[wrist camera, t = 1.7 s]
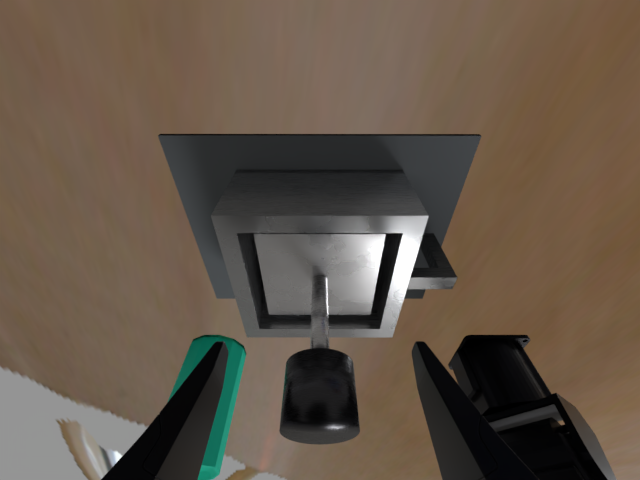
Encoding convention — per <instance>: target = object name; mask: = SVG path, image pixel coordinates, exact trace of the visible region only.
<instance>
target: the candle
mask: <svg viewBox="0 0 640 480" xmlns="http://www.w3.org/2000/svg"><path fill="white" fill-rule="evenodd" d="M217 341H224V342H225V344H226V346H227V349H228V360H227V366H226V372H225V378H224V384H223V389H222V393H221V397H220V400H219V404H218V407H217V411H216V415H215V418H214V422H213V426H212V429H211V433H210V436H209V440H208V444H207V447H206V451H205V454H204V458H203V462H202V465H201V469H200V473H199V476H198V480H212V479H214V478H216V477H217V476H218V475H219V474H220V470H221V466H222V461H223V457H224V452H225V448H226V443H227V439H228V434H229V430H230V425H231V421H232V416H233V412H234V407H235V403H236V398H237V394H238V389H239V385H240V380H241V376H242V371H243V367H244V362H245V358H246V351H245V348H244V346H243V345H242V344H241V343H239V342H238V341H236V340H235V339H233V338H229V337H226V336H222V335H202V336H200V337H197V338H195V339H193V341H192V343H191V345H190V347H189V350H188V352H187V355H186V357H185V360H184V362H183V365H182V367H181V370H180V372H179V375H178V377H177V380H176V382H175V385H174V387H173V389H172V392H171V394H170V397H169V399H168V401H169V400H170V399H171V397H172V396H173V395H174V394H175V392H176V391H177V390H178V389H179V387H180V386H181V385H182V383H183V382H184V381H185V380H186V378H187V377H188V376H189V375H190V373H191V372H192V371H193V369H194V368H195V367H196V366H197V364H198V363H199V362H200V361H201V359H202V358H203V357H204V355H205V354H206V353H207V352H208V350H209V349H210V348H211V347H212V345H213V344H214V343H215V342H217ZM167 403H168V402H167Z"/></svg>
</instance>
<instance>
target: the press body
mask: <svg viewBox="0 0 640 480" xmlns="http://www.w3.org/2000/svg"><path fill="white" fill-rule="evenodd" d="M428 217H429V215H428V214H427V212H426V210H425V208H424V207H423V205H422V203H421V201H420V199H419V198H418V196H417V194H416V192H415V190H414V189H413V187H412V185H411V183H410V181H409V180H408V178H407V176H406V174H405V173H404V171H403V170H236V172H235V173H234V175H233V177H232V179H231V180H230V182H229V184H228V186H227V188H226V189H225V191H224V193H223V195H222V197H221V198H220V200H219V202H218V204H217V206H216V207H215V209H214V211H213V213H212V214H211V218H212V221H213V225H214V228H215V232H216V235H217V238H218V242H219V245H220V248H221V252H222V255H223V259H224V262H225V265H226V269H227V272H228V275H229V279H230V282H231V286H232V289H233V292H234V296H235V299H236V302H237V306H238V309H239V313H240V316H241V319H242V323H243V326H244V329H245V333H246V336H247V337H310V336H311V315H269V312H268V307H267V302H266V296H265V291H264V286H263V280H262V275H261V270H260V264H259V259H258V254H257V249H256V243H255V238H254V233H386V235H385V241H384V246H383V251H382V256H381V262H380V267H379V272H378V277H377V283H376V288H375V293H374V298H373V304H372V309H371V314H370V315H328V320H329V337H393V334H394V331H395V327H396V324H397V321H398V317H399V314H400V310H401V307H402V304H403V300H404V297H405V294H406V290H407V289H453V287H454V284H455V282H456V280H457V276H456V274H455V272H454V270H453V268H452V266H451V264H450V263H449V261H448V259H447V257H446V255H445V253H444V251H443V250H442V248H441V246H440V244H439V242H438V240H437V238H436V237H435V235H434V233H424V230H425V227H426V223H427V220H428ZM419 247H420V248H421V250H422V252H423V255H424V257H425V259H426V261H427V264H428V266H429V268H413V267H414V263H415V260H416V257H417V253H418V250H419Z"/></svg>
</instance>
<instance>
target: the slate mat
mask: <svg viewBox="0 0 640 480" xmlns="http://www.w3.org/2000/svg"><path fill="white" fill-rule="evenodd" d="M158 138H159V140H160V143H161V146H162V149H163V151H164V154H165V157H166V160H167V162H168V165H169V168H170V171H171V173H172V176H173V179H174V182H175V185H176V187H177V190H178V193H179V196H180V198H181V201H182V204H183V207H184V209H185V212H186V215H187V218H188V220H189V223H190V226H191V229H192V232H193V234H194V237H195V240H196V243H197V245H198V248H199V251H200V254H201V256H202V259H203V262H204V265H205V267H206V270H207V273H208V276H209V278H210V281H211V284H212V287H213V290H214V292H215V295H216V298H217V299H235V296H234V292H233V289H232V286H231V282H230V279H229V275H228V272H227V269H226V265H225V262H224V259H223V255H222V252H221V248H220V245H219V242H218V238H217V235H216V232H215V228H214V225H213V221H212V218H211V214H212V213H213V211H214V209H215V207H216V206H217V204H218V202H219V200H220V198H221V197H222V195H223V193H224V191H225V189H226V188H227V186H228V184H229V182H230V180H231V179H232V177H233V175H234V173H235V172H236V170H403V171H404V173H405V174H406V176H407V178H408V180H409V181H410V183H411V185H412V187H413V189H414V190H415V192H416V194H417V196H418V198H419V199H420V201H421V203H422V205H423V207H424V208H425V210H426V212H427V214H428V215H429V217H428V220H427V223H426V227H425V230H424V233H434V235H435V237H436V238H437V240H438V242H439V244H440V246H442V244H443V241H444V238H445V235H446V233H447V230H448V227H449V224H450V222H451V219H452V216H453V213H454V211H455V208H456V205H457V202H458V200H459V197H460V194H461V191H462V189H463V186H464V183H465V180H466V178H467V175H468V172H469V169H470V167H471V164H472V161H473V158H474V155H475V153H476V150H477V147H478V144H479V142H480V139H481V135H480V134H159V135H158ZM413 268H429V266H428V264H427V261H426V259H425V257H424V255H423V252H422V250H421V248H420V247H419V250H418V253H417V257H416V260H415V263H414V267H413ZM425 290H426V289H407V290H406V294H405V297H404V299H423V296H424V293H425Z"/></svg>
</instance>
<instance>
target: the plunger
mask: <svg viewBox="0 0 640 480" xmlns="http://www.w3.org/2000/svg"><path fill="white" fill-rule="evenodd" d="M385 235H386V233H254V238H255V243H256V249H257V254H258V259H259V264H260V270H261V275H262V280H263V286H264V291H265V296H266V302H267V307H268V312H269V315H311V336H310V349H306V350H302V351H299V352H297V353H295V354H293V355H292V356H290V357H289V358H288V360H287V362H286V368H285V379H284V389H283V399H282V409H281V419H280V429H279V431H280V434H281V435H282V436H283V437H285V438H286V439H289V440H291V441H295V442H299V443H305V444H319V445H320V444H335V443H340V442H345V441H348V440H351V439H353V438H355V437H356V436H357V435H358V434H359V433H360V425H359V415H358V404H357V394H356V384H355V374H354V364H353V361H352V359H351V358H350V357H349V356H348V355H346V354H345V353H343V352H340V351H338V350H334V349H329V320H328V315H370V314H371V309H372V304H373V298H374V293H375V288H376V283H377V277H378V272H379V267H380V262H381V256H382V251H383V246H384V241H385Z"/></svg>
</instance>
